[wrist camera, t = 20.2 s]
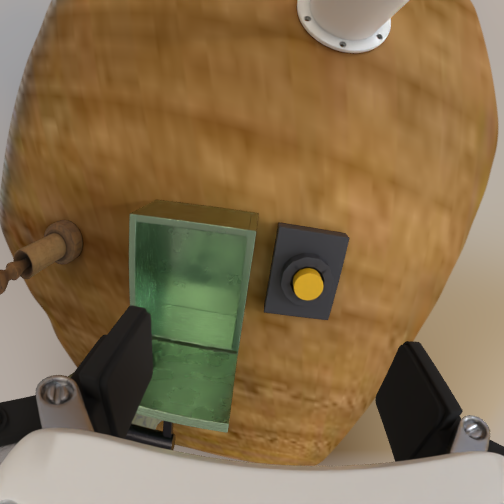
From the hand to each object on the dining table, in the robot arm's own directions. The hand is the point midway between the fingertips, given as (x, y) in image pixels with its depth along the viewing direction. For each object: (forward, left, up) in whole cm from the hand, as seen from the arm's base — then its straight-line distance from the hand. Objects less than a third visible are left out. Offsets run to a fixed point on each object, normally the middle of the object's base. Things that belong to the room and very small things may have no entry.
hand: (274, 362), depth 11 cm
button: (+8, +6, -27) cm, 29 cm away
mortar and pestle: (+9, -30, -31) cm, 44 cm away
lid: (+14, -8, -13) cm, 21 cm away
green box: (+9, -8, -30) cm, 33 cm away
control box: (+8, +6, -30) cm, 32 cm away
